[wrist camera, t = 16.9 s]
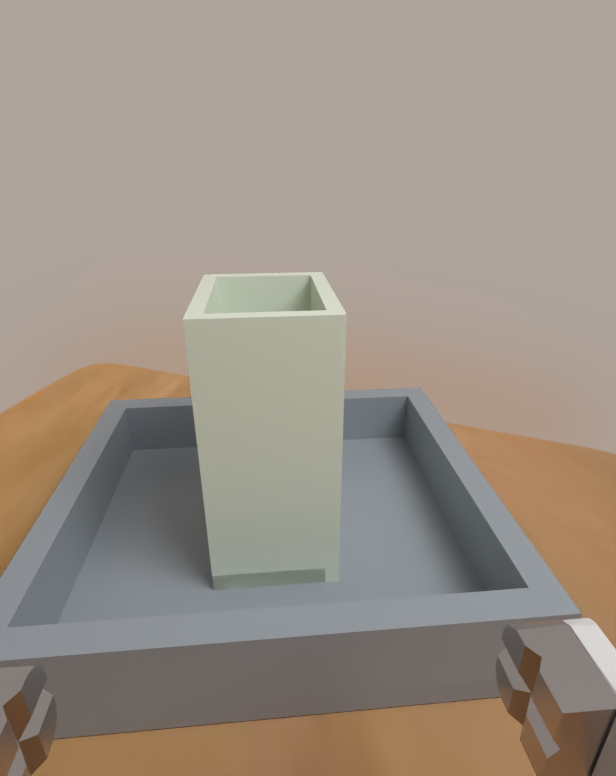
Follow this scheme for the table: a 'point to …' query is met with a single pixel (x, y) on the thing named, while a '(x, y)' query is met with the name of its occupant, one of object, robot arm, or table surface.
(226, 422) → the small tall open container
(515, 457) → the table surface
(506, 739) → the table surface
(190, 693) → the grey tray
